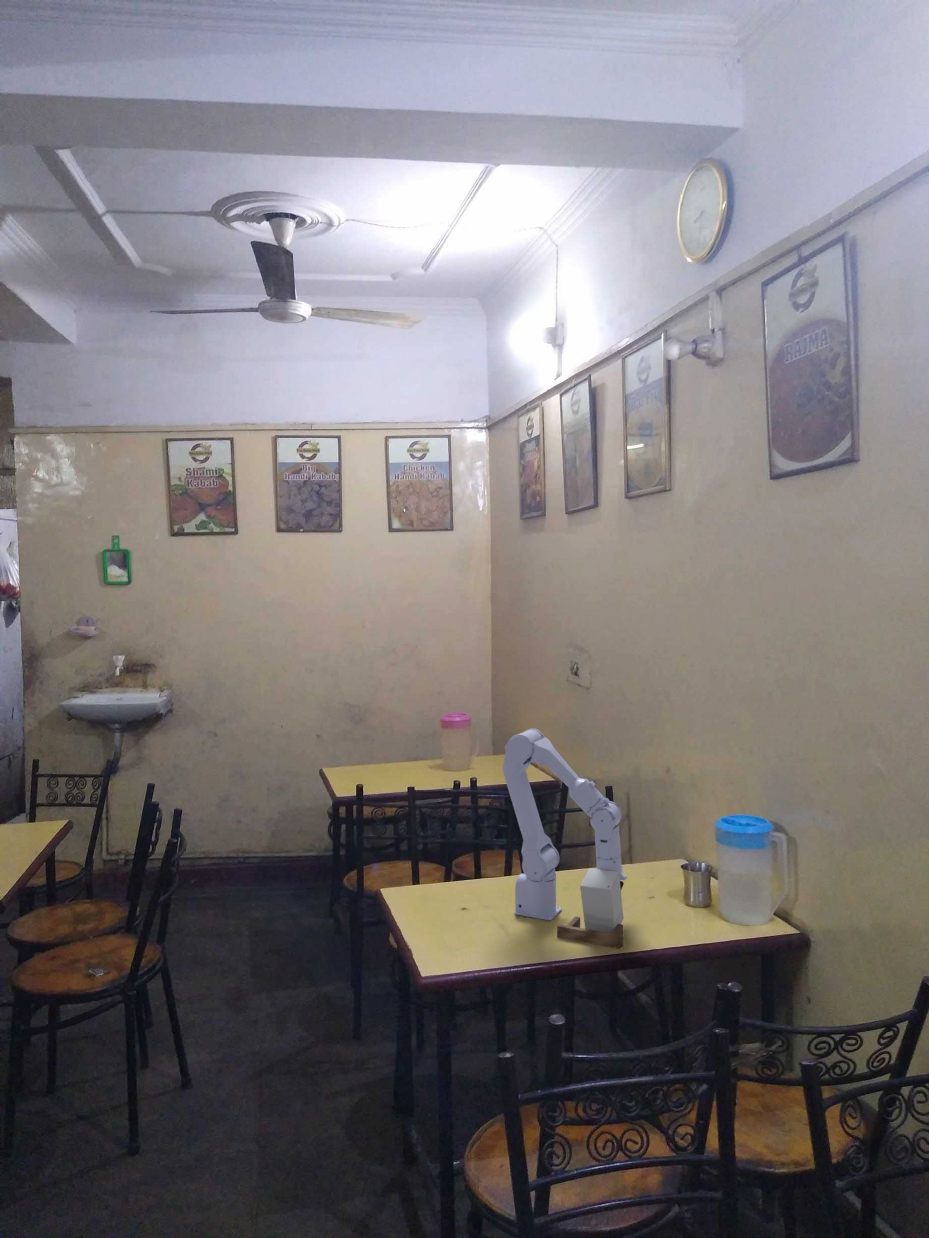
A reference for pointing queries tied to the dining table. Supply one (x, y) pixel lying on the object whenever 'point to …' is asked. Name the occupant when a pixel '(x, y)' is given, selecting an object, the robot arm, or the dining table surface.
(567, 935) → the walnut clip
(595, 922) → the supplement box
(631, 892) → the dining table surface
